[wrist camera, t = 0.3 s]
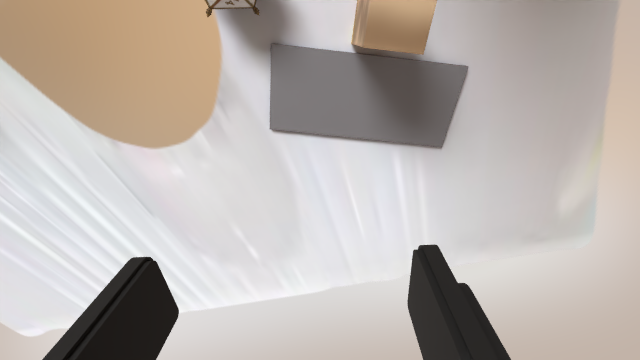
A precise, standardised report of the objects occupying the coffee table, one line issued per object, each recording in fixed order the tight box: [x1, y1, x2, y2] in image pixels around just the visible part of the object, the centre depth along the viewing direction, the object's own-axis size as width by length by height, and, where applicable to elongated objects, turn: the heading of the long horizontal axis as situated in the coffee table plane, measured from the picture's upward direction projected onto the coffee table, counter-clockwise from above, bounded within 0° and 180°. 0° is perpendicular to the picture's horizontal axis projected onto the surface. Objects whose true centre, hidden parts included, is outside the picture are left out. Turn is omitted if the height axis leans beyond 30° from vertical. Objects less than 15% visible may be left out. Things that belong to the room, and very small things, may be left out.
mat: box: [270, 44, 468, 147], centre depth 36 cm, size 10×24×1 cm, turn 84°
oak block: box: [351, 0, 437, 54], centre depth 27 cm, size 5×5×12 cm
